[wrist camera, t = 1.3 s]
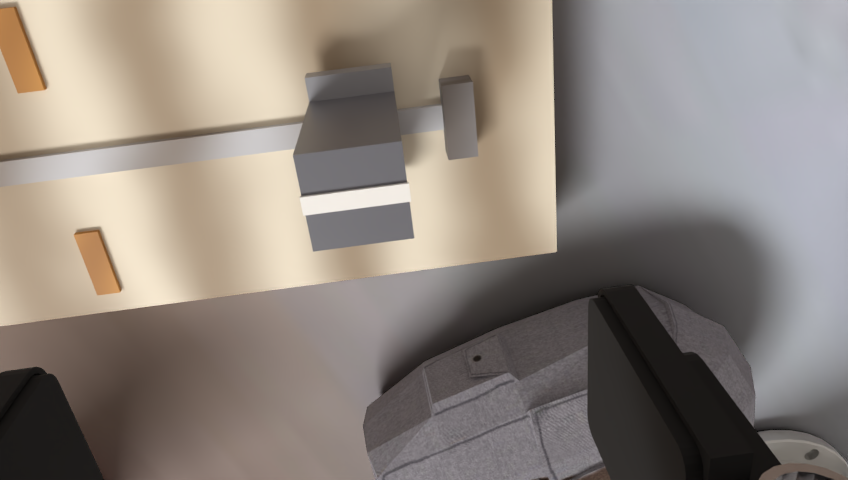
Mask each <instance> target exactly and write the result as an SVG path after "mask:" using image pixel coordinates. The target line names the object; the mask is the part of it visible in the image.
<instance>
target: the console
mask: <svg viewBox="0 0 848 480" xmlns="http://www.w3.org/2000/svg"><path fill="white" fill-rule="evenodd" d="M383 63H391V69H392V77H393V85H394V92H395V99H396V106H397V112H398V119H399V126H400V133H401V139H402V147H403V154H404V162H405V170H406V177H407V182H409V188H410V195H411V202H410V208H411V216H412V224H413V231H414V238H413V239H405V240H398V241H390V242H383V243H375V244H368V245H360V246H352V247H345V248H337V249H330V250H322V251H315V252H313V249H312V244H311V239H310V235H309V230H308V225H307V220H306V216H303V212H302V207H301V203H300V198H299V197H300V196H301V192H300V187H299V182H298V178H297V173H296V168H295V163H294V159H293V153H294V150H295V146H296V143H297V140H298V137H299V134H300V130H301V127H302V124H303V121H304V117H305V114H306V111H307V108H308V104H309V98H308V93H307V88H306V83H305V76H306V73H313V72H320V71H328V70H336V69H344V68H352V67H360V66H368V65H376V64H383ZM553 252H557V229H556V177H555V125H554V73H553V21H552V0H0V326H6V325H14V324H21V323H29V322H36V321H44V320H51V319H59V318H66V317H74V316H81V315H89V314H96V313H104V312H111V311H119V310H126V309H134V308H141V307H149V306H156V305H164V304H171V303H179V302H186V301H194V300H201V299H209V298H216V297H223V296H231V295H238V294H246V293H253V292H261V291H268V290H276V289H283V288H291V287H298V286H306V285H313V284H321V283H328V282H336V281H343V280H351V279H358V278H366V277H373V276H381V275H388V274H396V273H403V272H411V271H418V270H426V269H433V268H441V267H448V266H456V265H463V264H471V263H478V262H486V261H493V260H501V259H508V258H516V257H523V256H531V255H538V254H546V253H553Z"/></svg>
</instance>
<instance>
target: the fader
mask: <svg viewBox="0 0 848 480" xmlns="http://www.w3.org/2000/svg"><path fill="white" fill-rule="evenodd" d="M305 83H306V88H307V93H308V98H309V104H308V108H307V111H306V114H305V117H304V121H303V124H302V127H301V130H300V134H299V137H298V140H297V143H296V146H295V150H294V153H293V159H294V163H295V168H296V173H297V178H298V182H299V187H300V192H301V196H300V197H299V198H300V203H301V207H302V212H303V216H306V220H307V225H308V230H309V235H310V239H311V244H312V249H313V252H315V251H322V250H330V249H337V248H345V247H352V246H360V245H368V244H375V243H383V242H390V241H398V240H405V239H413V238H414V231H413V224H412V216H411V208H410V202H411V195H410V188H409V182H407V177H406V170H405V162H404V154H403V147H402V139H401V133H400V126H399V119H398V112H397V106H396V99H395V92H394V85H393V77H392V69H391V63H383V64H376V65H368V66H360V67H352V68H344V69H336V70H328V71H320V72H313V73H306V76H305Z"/></svg>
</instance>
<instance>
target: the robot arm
mask: <svg viewBox="0 0 848 480" xmlns="http://www.w3.org/2000/svg"><path fill="white" fill-rule="evenodd" d="M587 416H588V424H589V428H590V432H591V435H592V437H593V440H594V442H595V444H596V446H597V449H598V451H599V453H600V456H601V458H602V460H603V463H604V465H605V467H606V470H607V472H608V474H609V476H610V479H611V480H848V464H847V462H846V461H845V460H844V458H843V457H842V456H841V455H840V454H839V453H838V452H837V451H836V450H835V448H834V447H833V446H831V445H830V444H828V443H827V442H825V441H824V440H823V439H821V438H818V437H816V436H813V435H810V434H808V433H803V432H797V431H792V430H768V431H761V432H757V431H756V430H755V429H754V427H753V426H752V425H751V423H750V422H749V421H748V419H747V418H746V417H745V415H744V414H743V413H742V411H741V410H740V409H739V407H738V406H737V405H736V403H735V402H734V401H733V399H732V398H731V397H730V395H729V394H728V393H727V391H726V390H725V389H724V387H723V386H722V385H721V383H720V382H719V381H718V379H717V378H716V377H715V375H714V374H713V373H712V371H711V370H710V369H709V367H708V366H707V365H706V363H705V362H704V361H703V359H702V358H701V357H700V356H699V355H698V354H697V353H694V352H685V353H682V351H681V350H680V349H679V347H678V346H677V344H676V343H675V342H674V340H673V339H672V338H671V336H670V335H669V333H668V332H667V331H666V329H665V328H664V326H663V325H662V324H661V322H660V321H659V319H658V318H657V317H656V315H655V314H654V312H653V311H652V310H651V308H650V307H649V305H648V304H647V303H646V301H645V300H644V298H643V297H642V296H641V294H640V293H639V291H638V290H637V289H636V287H635V286H634V285H624V286H617V287H610V288H603V289H600V290H599V293H598V298H591V299H590V300H589V302H588V392H587ZM0 480H104V479H103V476H102V474H101V472H100V470H99V468H98V466H97V464H96V461H95V459H94V457H93V455H92V453H91V451H90V449H89V446H88V444H87V442H86V440H85V438H84V436H83V434H82V431H81V429H80V427H79V425H78V423H77V421H76V418H75V416H74V414H73V412H72V410H71V408H70V406H69V403H68V401H67V399H66V397H65V395H64V393H63V391H62V388H61V386H60V384H59V382H58V380H57V378H56V377H55V376H54V375H53V374H47V373H46V372H45V371H44V370H43V369H42V368H39V367H32V368H25V369H18V370H11V371H5V372H2V373H0Z"/></svg>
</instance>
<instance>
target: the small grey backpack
mask: <svg viewBox="0 0 848 480" xmlns="http://www.w3.org/2000/svg"><path fill="white" fill-rule="evenodd" d="M635 287H636V289H637V290H638V291H639V293H640V294H641V296H642V297H643V298H644V300H645V301H646V303H647V304H648V305H649V307H650V308H651V310H652V311H653V312H654V314H655V315H656V317H657V318H658V319H659V321H660V322H661V324H662V325H663V326H664V328H665V329H666V331H667V332H668V333H669V335H670V336H671V338H672V339H673V340H674V342H675V343H676V344H677V346H678V347H679V349H680V350H681V351H682V353H685V352H694V353H697V354H698V355H699V356H700V357H701V358H702V359H703V361H704V362H705V363H706V365H707V366H708V367H709V369H710V370H711V371H712V373H713V374H714V375H715V377H716V378H717V379H718V381H719V382H720V383H721V385H722V386H723V387H724V389H725V390H726V391H727V393H728V394H729V395H730V397H731V398H732V399H733V401H734V402H735V403H736V405H737V406H738V407H739V409H740V410H741V411H742V413H743V414H744V415H745V417H746V418H747V419H748V421H749V422H750V423H751V425H752V426H753V427H754V415H755V390H754V384H753V379H752V373H751V367H750V365H749V364H748V362H747V361H746V359H745V358H744V356H743V355H742V353H741V351H740V350H739V348H738V347H737V345H736V344H735V342H734V341H733V339H732V338H731V336H730V335H729V333H728V331H727V330H726V328H725V327H724V326H723V325H720V324H718V323H716V322H714V321H712V320H709V319H707V318H705V317H703V316H701V315H698V314H696V313H695V312H693V311H692V310H691V309H690V308H688V307H687V306H686V305H684V304H682V303H679V302H677V301H674V300H672V299H670V298H667V297H665V296H662V295H660V294H658V293H655V292H653V291H650V290H648V289H646V288H643V287H641V286H635ZM591 298H598V295H596V296H592V297H587V298H583V299H579V300H575V301H572V302H569V303H567V304H564V305H561V306H558V307H555V308H553V309H550V310H547V311H544V312H541V313H539V314H536V315H533V316H530V317H528V318H525V319H522V320H519V321H516V322H514V323H511V324H508V325H505V326H502V327H500V328H497V329H495V330H493V331H490V332H488V333H486V334H484V335H482V336H479V337H477V338H475V339H473V340H471V341H468V342H466V343H464V344H462V345H460V346H457V347H455V348H453V349H451V350H449V351H447V352H444V353H442V354H440V355H438V356H436V357H433V358H431V359H429V360H427V361H425V362H423V363H422V364H421V365H420V366H418V367H417V368H416V369H415V370H413V371H412V372H411V373H409V374H408V375H407V376H406V377H404V378H403V379H402V380H401V381H399V382H398V383H397V384H396V385H394V386H393V387H392V388H391V389H389V390H388V391H387V392H386V393H384V394H383V395H382V396H380V397H379V398H378V399H377V400H375V401H374V402H373V403H372V404H370V405H369V406H368V407H367V411H366V415H365V419H364V424H363V429H364V435H365V442H366V448H367V454H368V457H369V460H370V463H371V467H372V470H373V473H374V477H375V480H611V479H610V476H609V474H608V472H607V470H606V467H605V465H604V463H603V460H602V458H601V456H600V453H599V451H598V449H597V446H596V444H595V442H594V440H593V437H592V435H591V432H590V428H589V424H588V416H587V392H588V302H589V300H590V299H591Z"/></svg>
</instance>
